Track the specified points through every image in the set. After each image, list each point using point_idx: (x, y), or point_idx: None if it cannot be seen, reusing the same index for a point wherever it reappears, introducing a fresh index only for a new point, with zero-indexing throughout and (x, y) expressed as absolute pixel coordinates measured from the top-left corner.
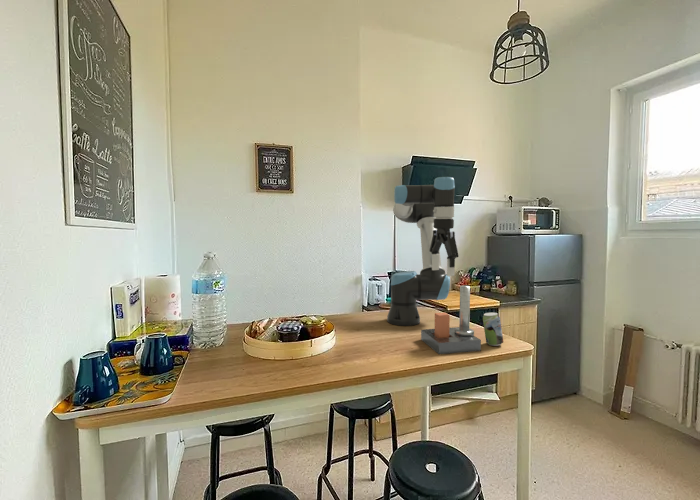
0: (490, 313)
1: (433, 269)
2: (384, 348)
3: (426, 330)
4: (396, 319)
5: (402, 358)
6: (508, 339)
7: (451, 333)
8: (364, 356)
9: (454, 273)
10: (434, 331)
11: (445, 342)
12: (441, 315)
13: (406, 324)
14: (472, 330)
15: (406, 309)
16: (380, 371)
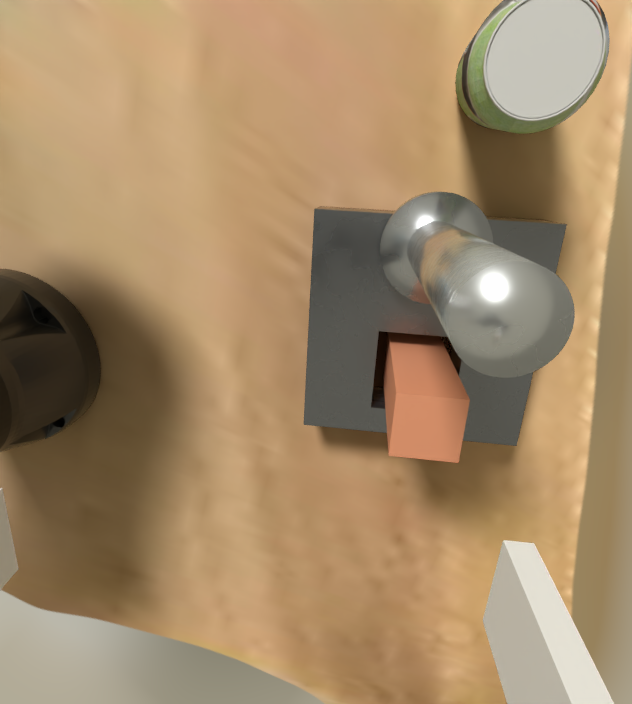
0: (524, 44)
1: (8, 566)
2: (366, 566)
3: (324, 408)
4: (64, 426)
5: (483, 553)
6: None
7: (409, 315)
8: (418, 643)
9: (547, 572)
10: (350, 379)
11: (521, 416)
12: (458, 449)
13: (96, 377)
14: (455, 202)
15: (28, 402)
16: None
